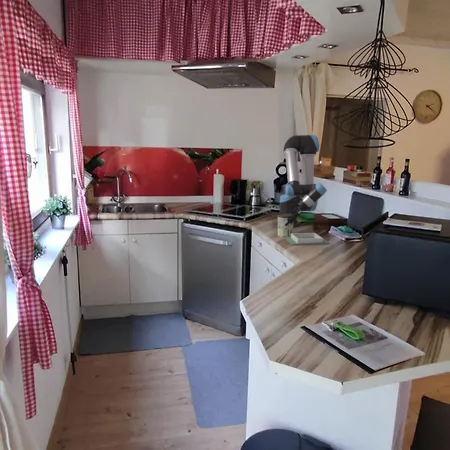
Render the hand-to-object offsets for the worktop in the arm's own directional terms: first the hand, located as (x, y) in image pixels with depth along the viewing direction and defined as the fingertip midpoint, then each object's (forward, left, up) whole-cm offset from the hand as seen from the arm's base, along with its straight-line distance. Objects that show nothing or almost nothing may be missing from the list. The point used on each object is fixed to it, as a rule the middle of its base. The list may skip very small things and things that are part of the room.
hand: (280, 227), depth 264 cm
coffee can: (+1, +3, -6) cm, 7 cm away
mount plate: (+17, +12, -6) cm, 22 cm away
